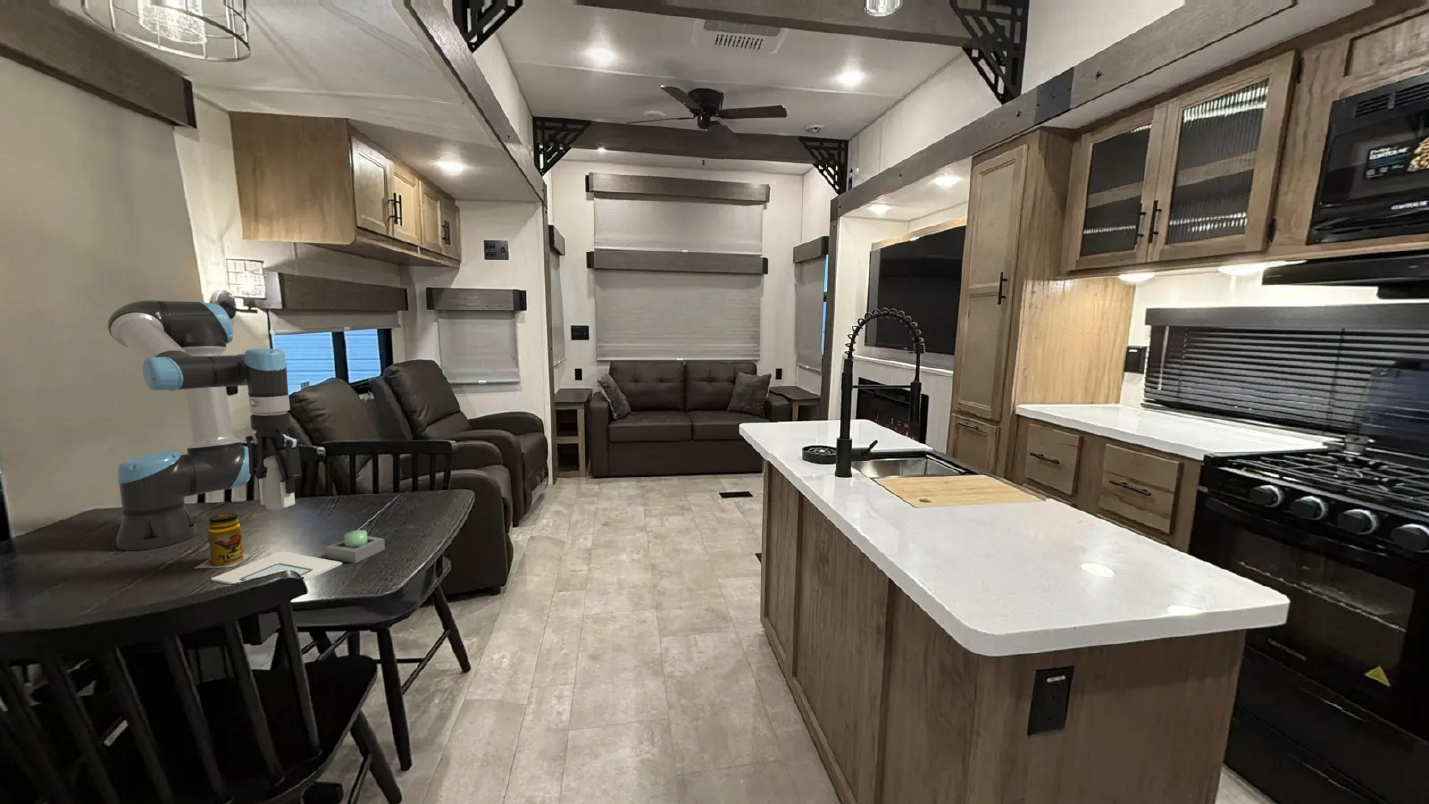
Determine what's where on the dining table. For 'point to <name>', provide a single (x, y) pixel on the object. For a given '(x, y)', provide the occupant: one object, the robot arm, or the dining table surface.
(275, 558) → the colouring board
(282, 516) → the dining table surface
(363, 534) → the button
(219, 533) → the condiment
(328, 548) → the button housing
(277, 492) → the salt shaker
